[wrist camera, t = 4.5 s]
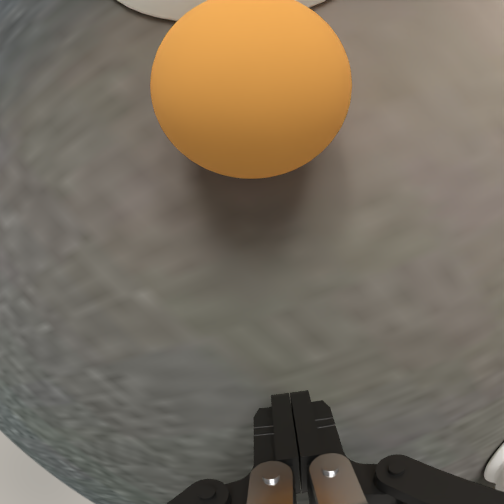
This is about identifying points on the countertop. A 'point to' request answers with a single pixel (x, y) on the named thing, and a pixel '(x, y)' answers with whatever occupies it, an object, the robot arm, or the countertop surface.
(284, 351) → the countertop surface
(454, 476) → the robot arm
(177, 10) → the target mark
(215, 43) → the ball
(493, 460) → the jar
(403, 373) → the countertop surface
